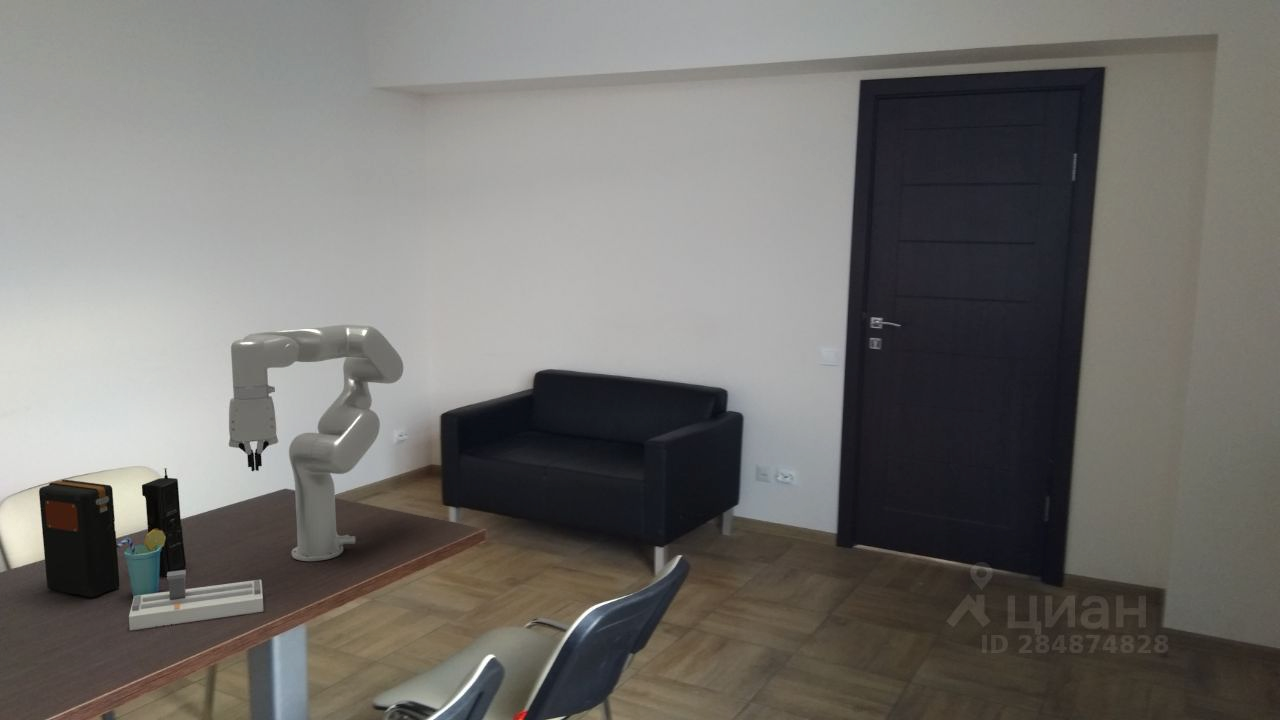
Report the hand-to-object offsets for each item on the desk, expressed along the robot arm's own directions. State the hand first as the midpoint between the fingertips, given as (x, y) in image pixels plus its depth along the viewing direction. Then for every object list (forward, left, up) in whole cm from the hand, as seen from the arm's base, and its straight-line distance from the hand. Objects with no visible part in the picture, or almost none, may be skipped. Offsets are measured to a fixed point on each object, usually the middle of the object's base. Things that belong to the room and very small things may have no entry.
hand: (255, 469), depth 223 cm
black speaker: (+38, -9, -27) cm, 48 cm away
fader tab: (+17, +14, -24) cm, 32 cm away
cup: (+25, 0, -27) cm, 37 cm away
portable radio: (+21, -14, -27) cm, 37 cm away
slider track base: (+13, +14, -27) cm, 33 cm away
